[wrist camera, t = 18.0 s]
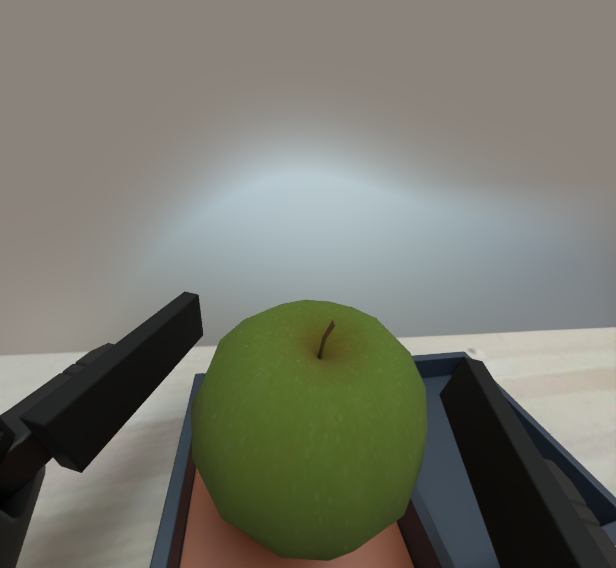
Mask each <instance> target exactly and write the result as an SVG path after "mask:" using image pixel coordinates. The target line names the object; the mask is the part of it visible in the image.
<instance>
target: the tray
mask: <svg viewBox="0 0 616 568" xmlns="http://www.w3.org/2000/svg"><path fill="white" fill-rule="evenodd" d="M465 357H466V358H470V359H472V358H471V357H470V356H468V355H467V354H466V353H465V352H452V353H440V354H428V355H417V356H412V358H413V360H414V362H415V365H416V367H417V369H418V371H419V374H420V376H421V378H422V380H423V382H424V385H425V387H426V406H427V435H426V443H425V450H424V458H423V465H422V467H421V470H420V473H419V476H418V478H417V481H416V484H415V487H414V489H413V492H412V495H411V498H410V500H409V503H408V506H407V509H406V511H405V514H404V516H402V517H401V518H400V519H398V520H397V521H396V522H394V523H393V524H391V525H390V526H389V527H387V528H386V529H384V530H383V531H382V532H380V533H379V534H378V535H376V536H375V537H373V538H372V539H371V540H369V541H368V542H366V543H365V544H364V545H362V546H361V547H360V548H358V549H357V550H355V551H354V552H351V553H349V554H346V555H343V556H341V557H338V558H335V559H333V560H330V561H324V560H308V559H293V558H280V557H279V556H277V555H276V554H274V553H273V552H271V551H270V550H268V549H267V548H265V547H264V546H262V545H261V544H260V543H258V542H257V541H255V540H254V539H252V538H251V537H249V536H248V535H246V534H245V533H243V532H242V531H240V530H239V529H237V528H236V527H234V526H232V525H231V524H229V523H228V522H226V521H224V520H223V519H222V518H221V516H220V514H219V512H218V510H217V508H216V506H215V504H214V502H213V500H212V498H211V496H210V494H209V492H208V490H207V488H206V486H205V484H204V482H203V480H202V478H201V476H200V474H199V472H198V470H197V468H196V466H195V464H194V462H193V457H192V431H191V404H192V402H193V400H194V398H195V396H196V394H197V392H198V389H199V387H200V385H201V383H202V381H203V379H204V377H205V375H206V373H205V374H204V373H201V374H195V377H194V381H193V386H192V390H191V394H190V398H189V403H188V407H187V411H186V415H185V420H184V424H183V428H182V433H181V437H180V441H179V445H178V450H177V454H176V458H175V462H174V467H173V471H172V475H171V479H170V484H169V488H168V492H167V496H166V501H165V505H164V509H163V513H162V518H161V522H160V526H159V530H158V535H157V539H156V543H155V547H154V552H153V556H152V560H151V564H150V568H500V566H499V563H498V560H497V557H496V554H495V551H494V549H493V546H492V543H491V540H490V537H489V534H488V532H487V529H486V526H485V523H484V520H483V517H482V515H481V512H480V509H479V506H478V503H477V500H476V498H475V495H474V492H473V489H472V486H471V483H470V481H469V478H468V475H467V472H466V469H465V466H464V464H463V461H462V458H461V455H460V452H459V449H458V447H457V444H456V441H455V438H454V435H453V432H452V430H451V427H450V424H449V421H448V418H447V415H446V413H445V410H444V407H443V404H442V401H441V398H440V396H439V394H440V392H441V391H442V390H443V388H444V387H445V385H446V384H447V382H448V381H449V379H450V378H451V376H452V375H453V374H454V372H455V371H456V369H457V368H458V366H459V365H460V363H461V362H462V361H463V359H464V358H465ZM496 384H497V383H496ZM497 386H498V387H499V389H500V390H501V392H502V394H503V395H504V397H505V398H506V400H507V402H508V403H509V405H510V406H511V408H512V409H513V411H514V413H515V414H516V416H517V417H518V419H519V421H520V422H521V424H522V425H523V427H524V429H525V430H526V432H527V433H528V435H529V437H530V438H531V440H532V441H533V443H534V445H535V446H536V448H537V449H538V451H539V453H540V454H541V456H542V457H543V458H544V459H548V460H551V461H553V462H554V463H555V464H556V465H557V466H558V467H559V468H560V469H561V471H562V472H563V473H564V474H565V475H566V476H567V477H568V478H569V479H570V480H571V481H572V483H573V484H574V486H575V487H576V489H577V490H578V492H579V493H580V495H581V496H582V498H583V499H584V501H585V502H586V506H587V507H588V508H589V509H590V510H591V511H592V513H593V514H594V515H595V517H596V518H597V520H598V521H599V523H600V527H601V528H602V529H604V530H605V532H606V533H607V535H608V536H609V538H610V539H611V541H612V542H613V544H614V545H616V498H615V497H614V496H613V495H612V494H611V493H610V492H609V491H608V490H607V489H606V488H605V487H604V486H603V485H602V484H601V483H600V482H599V481H598V480H597V479H596V478H595V477H594V476H593V475H592V474H591V473H590V472H589V471H588V470H586V469H585V468H584V467H583V466H582V465H581V464H580V463H579V462H578V461H577V460H576V459H575V458H574V457H573V456H572V455H571V454H570V453H569V452H568V451H567V450H566V449H565V448H564V447H563V446H562V445H561V444H560V443H559V442H558V441H556V440H555V439H554V438H553V437H552V436H551V435H550V434H549V433H548V432H547V431H546V430H545V429H544V428H543V427H542V426H541V425H540V424H539V423H538V422H537V421H536V420H535V419H534V418H533V417H532V416H531V415H530V414H529V413H527V412H526V411H525V410H524V409H523V408H522V407H521V406H520V405H519V404H518V403H517V402H516V401H515V400H514V399H513V398H512V397H511V396H510V395H509V394H508V393H507V392H506V391H505V390H504V389H503V388H502V387H501V386H500V385H499V384H497Z"/></svg>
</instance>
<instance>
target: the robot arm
mask: <svg viewBox="0 0 616 568" xmlns="http://www.w3.org/2000/svg"><path fill="white" fill-rule="evenodd" d="M202 336H203V328H202V321H201V311H200V303H199V295H197V294H193V293H189V292H183V293H182V294H181V295H179V296H178V297H177V298H175V299H174V300H173V301H171V302H170V303H169V304H168V305H166V306H165V307H164V308H162V309H161V310H160V311H158V312H157V313H156V314H154V315H153V316H152V317H150V318H149V319H148V320H146V321H145V322H144V323H142V324H141V325H140V326H139V327H137V328H136V329H135V330H133V331H132V332H131V333H129V334H128V335H127V336H125V337H124V338H123V339H121V340H120V341H119V342H117V343H116V344H115V345H114V344H110V343H107V344H105V345H103V346H101V347H99V348H97V349H94V350H92V351H90V352H89V353H88V354H86V355H85V356H83V357H82V358H81V359H79V360H78V361H76V363H75V364H72V365H71V366H69V367H68V368H67V369H65V370H64V371H63V373H61V374H58V375H57V376H55V377H54V378H53V379H51V380H50V381H48V382H47V383H46V384H44V385H43V386H41V387H40V388H39V389H37V390H36V391H34V392H33V393H32V394H30V395H29V396H27V397H26V398H25V399H23V400H22V401H20V402H19V403H18V404H16V405H15V406H13V407H12V408H11V409H9V410H8V411H6V412H5V413H3V414H1V415H0V568H15V567H16V564H17V561H18V558H19V555H20V552H21V548H22V545H23V542H24V539H25V536H26V533H27V529H28V526H29V523H30V520H31V517H32V514H33V511H34V507H35V504H36V501H37V498H38V495H39V492H40V488H41V485H42V482H43V479H44V476H45V468H46V466H45V465H46V464H47V463H48V462H49V461H50V460H51V459H52V458H54V459H55V460H56V461H57V462H58V464H59V465H60V466H62V467H65V468H68V469H71V470H74V471H77V472H80V473H82V472H83V471H84V470H85V468H86V467H87V466H88V465H89V464H90V463H91V462H92V460H93V459H94V458H95V457H96V456H97V455H98V454H99V453H100V451H101V450H102V449H103V448H104V447H105V446H106V445H107V443H108V442H109V441H110V440H111V439H112V438H113V437H114V436H115V434H116V433H117V432H118V431H119V430H120V429H121V428H122V426H123V425H124V424H125V423H126V422H127V421H128V420H129V419H130V417H131V416H132V415H133V414H134V413H135V412H136V411H137V409H138V408H139V407H140V406H141V405H142V404H143V403H144V402H145V400H146V399H147V398H148V397H149V396H150V395H151V394H152V392H153V391H154V390H155V389H156V388H157V387H158V386H159V385H160V383H161V382H162V381H163V380H164V379H165V378H166V377H167V375H168V374H169V373H170V372H171V371H172V370H173V369H174V368H175V366H176V365H177V364H178V363H179V362H180V361H181V360H182V359H183V357H184V356H185V355H186V354H187V353H188V352H189V351H190V349H191V348H192V347H193V346H194V345H195V344H196V343H197V341H198V340H199V339H200V338H201V337H202ZM439 396H440V398H441V401H442V404H443V407H444V410H445V413H446V415H447V418H448V421H449V424H450V427H451V430H452V432H453V435H454V438H455V441H456V444H457V447H458V449H459V452H460V455H461V458H462V461H463V464H464V466H465V469H466V472H467V475H468V478H469V481H470V483H471V486H472V489H473V492H474V495H475V498H476V500H477V503H478V506H479V509H480V512H481V515H482V517H483V520H484V523H485V526H486V529H487V532H488V534H489V537H490V540H491V543H492V546H493V549H494V551H495V554H496V557H497V560H498V563H499V566H500V568H616V547H615V545H614V544H613V542H612V541H611V539H610V538H609V536H608V535H607V533H606V532H605V530H604V529H602V528H601V527H600V523H599V521H598V520H597V518H596V517H595V515H594V514H593V513H592V511H591V510H590V509H589V508H588V507H587V506H586V502H585V501H584V499H583V498H582V496H581V495H580V493H579V492H578V490H577V489H576V487H575V486H574V484H573V483H572V481H571V480H570V479H569V478H568V477H567V476H566V475H565V474H564V473H563V472H562V471H561V469H560V468H559V467H558V466H557V465H556V464H555V463H554V462H553V461H551V460H548V459H544V458H543V457H542V456H541V454H540V453H539V451H538V449H537V448H536V446H535V445H534V443H533V441H532V440H531V438H530V437H529V435H528V433H527V432H526V430H525V429H524V427H523V425H522V424H521V422H520V421H519V419H518V417H517V416H516V414H515V413H514V411H513V409H512V408H511V406H510V405H509V403H508V402H507V400H506V398H505V397H504V395H503V394H502V392H501V390H500V389H499V387H498V386H497V384H496V382H495V381H494V379H493V378H492V376H491V374H490V373H489V371H488V370H487V368H486V366H485V365H484V363H483V362H482V361H479V360H474V359H470V358H466V357H465V358H464V359H463V361H462V362H461V363H460V365H459V366H458V368H457V369H456V371H455V372H454V374H453V375H452V376H451V378H450V379H449V381H448V382H447V384H446V385H445V387H444V388H443V390H442V391H441V392H440V394H439Z"/></svg>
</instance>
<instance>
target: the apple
mask: <svg viewBox="0 0 616 568" xmlns="http://www.w3.org/2000/svg"><path fill="white" fill-rule="evenodd" d="M191 431H192V457H193V462H194V464H195V466H196V468H197V470H198V472H199V474H200V476H201V478H202V480H203V482H204V484H205V486H206V488H207V490H208V492H209V494H210V496H211V498H212V500H213V502H214V504H215V506H216V508H217V510H218V512H219V514H220V516H221V518H222V519H223V520H224V521H226V522H228V523H229V524H231V525H232V526H234V527H236V528H237V529H239V530H240V531H242V532H243V533H245V534H246V535H248V536H249V537H251V538H252V539H254V540H255V541H257V542H258V543H260V544H261V545H262V546H264V547H265V548H267V549H268V550H270V551H271V552H273V553H274V554H276V555H277V556H279V557H280V558H293V559H308V560H324V561H330V560H333V559H335V558H338V557H341V556H343V555H346V554H349V553H351V552H354V551H355V550H357V549H358V548H360V547H361V546H362V545H364V544H365V543H366V542H368V541H369V540H371V539H372V538H373V537H375V536H376V535H378V534H379V533H380V532H382V531H383V530H384V529H386V528H387V527H389V526H390V525H391V524H393V523H394V522H396V521H397V520H398V519H400V518H401V517H402V516H404V514H405V511H406V509H407V506H408V503H409V500H410V498H411V495H412V492H413V489H414V487H415V484H416V481H417V478H418V476H419V473H420V470H421V467H422V465H423V458H424V450H425V443H426V435H427V406H426V387H425V385H424V382H423V380H422V378H421V376H420V374H419V371H418V369H417V367H416V365H415V362H414V360H413V358H412V356H411V354H410V352H409V351H408V350H407V349H406V348H405V347H404V346H403V345H402V344H401V343H400V342H399V341H398V340H397V339H396V338H395V337H394V336H393V335H392V334H391V333H390V332H389V331H388V330H387V329H386V328H385V327H384V326H383V325H382V324H381V323H380V322H379V321H378V320H377V319H376V318H374V317H372V316H370V315H368V314H366V313H363V312H361V311H359V310H357V309H355V308H352V307H348V306H344V305H340V304H336V303H332V302H327V301H314V300H302V301H296V302H291V303H285V304H281V305H278V306H276V307H273V308H271V309H268V310H266V311H264V312H261V313H259V314H257V315H254V316H252V317H250V318H247V319H245V320H243V321H242V322H241V323H240V324H238V325H237V326H236V327H235V328H234V329H233V330H232V331H230V332H229V333H228V334H227V335H226V336H225V337H223V338H222V339H221V340H220V342H219V344H218V347H217V349H216V351H215V354H214V356H213V359H212V361H211V364H210V366H209V368H208V370H207V373H206V375H205V377H204V379H203V381H202V383H201V385H200V387H199V389H198V392H197V394H196V396H195V398H194V400H193V402H192V404H191Z"/></svg>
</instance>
